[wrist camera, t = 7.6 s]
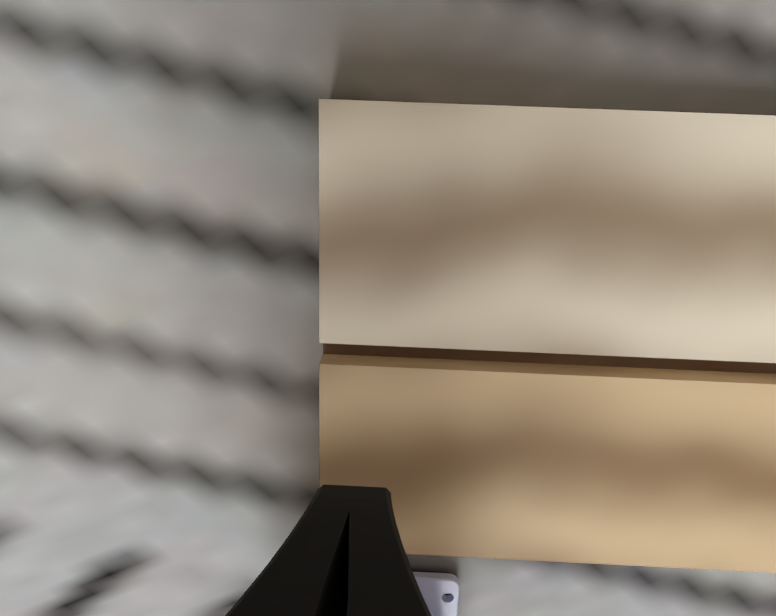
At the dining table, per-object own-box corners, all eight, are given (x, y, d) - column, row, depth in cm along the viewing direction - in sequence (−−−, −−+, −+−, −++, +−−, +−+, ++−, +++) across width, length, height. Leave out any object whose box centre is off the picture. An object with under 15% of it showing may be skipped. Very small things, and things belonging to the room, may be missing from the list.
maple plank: (952, 352, 19) (1012, 373, 17) (327, 325, 20) (319, 342, 18) (1035, 131, 17) (1114, 127, 15) (327, 105, 18) (319, 98, 16)
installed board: (881, 543, 22) (928, 580, 20) (326, 516, 22) (319, 549, 20) (952, 354, 19) (1012, 376, 18) (327, 327, 20) (319, 345, 18)
